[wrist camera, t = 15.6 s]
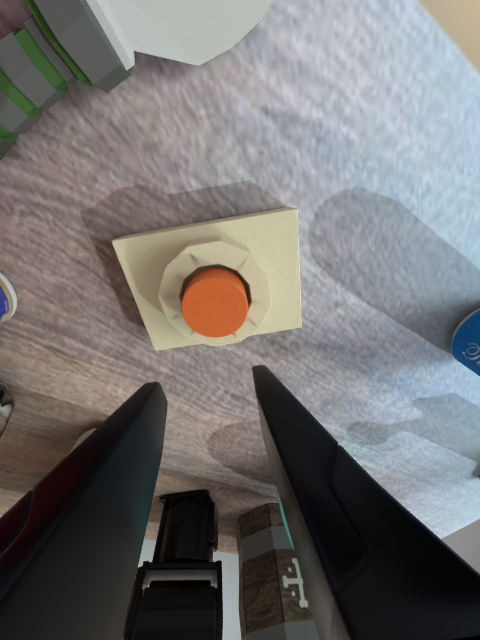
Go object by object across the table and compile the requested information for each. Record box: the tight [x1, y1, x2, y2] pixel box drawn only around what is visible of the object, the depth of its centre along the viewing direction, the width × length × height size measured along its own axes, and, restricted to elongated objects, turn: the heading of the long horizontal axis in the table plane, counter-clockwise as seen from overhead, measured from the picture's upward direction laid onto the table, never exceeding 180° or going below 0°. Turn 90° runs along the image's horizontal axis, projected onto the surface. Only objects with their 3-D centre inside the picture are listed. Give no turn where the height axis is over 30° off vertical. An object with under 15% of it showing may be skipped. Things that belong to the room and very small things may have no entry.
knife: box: [0, 0, 274, 160], centre depth 10 cm, size 22×4×5 cm
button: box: [181, 268, 248, 338], centre depth 13 cm, size 4×4×2 cm
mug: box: [236, 504, 319, 640], centre depth 30 cm, size 20×14×15 cm
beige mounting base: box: [111, 207, 302, 351], centre depth 16 cm, size 11×8×4 cm
